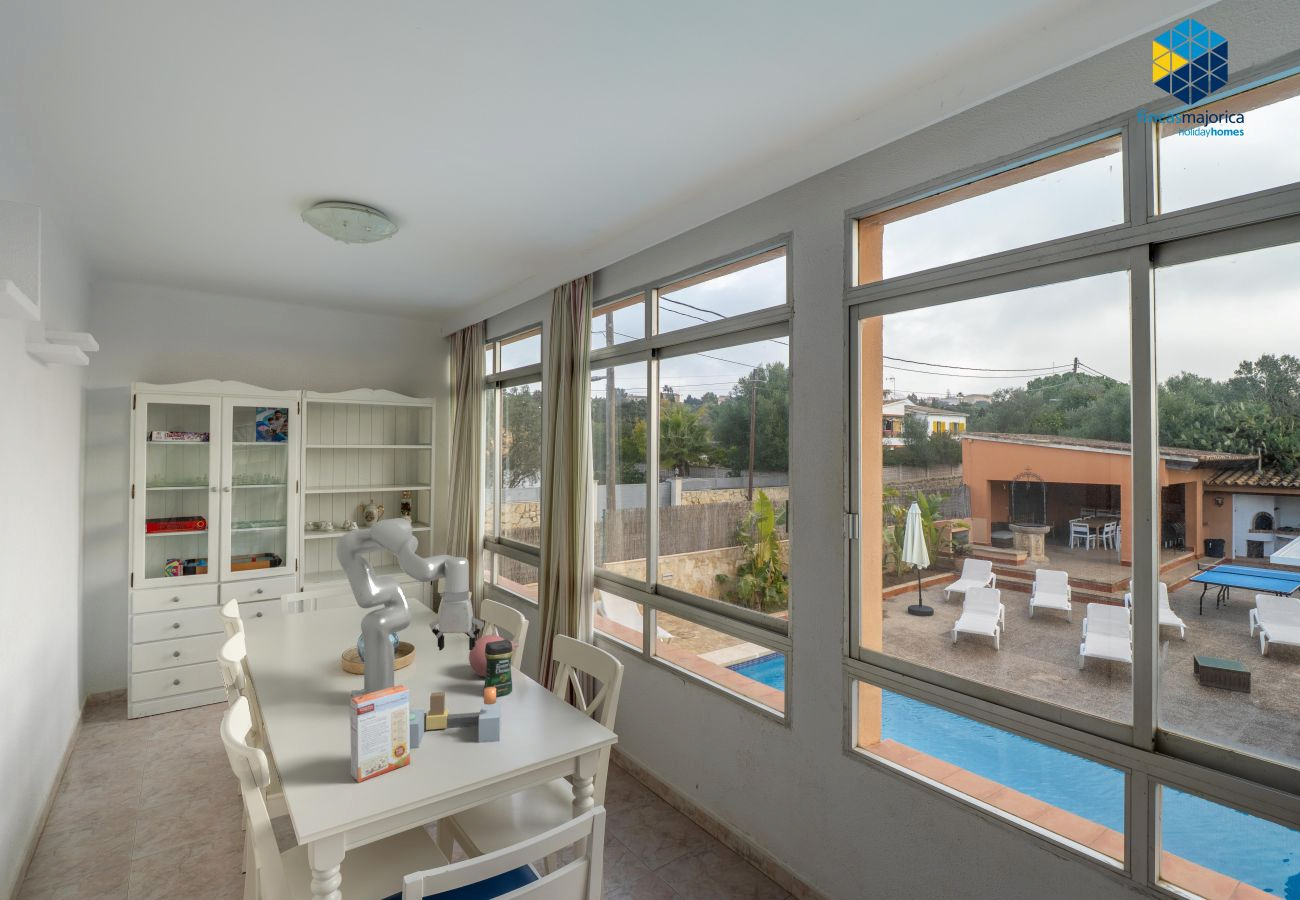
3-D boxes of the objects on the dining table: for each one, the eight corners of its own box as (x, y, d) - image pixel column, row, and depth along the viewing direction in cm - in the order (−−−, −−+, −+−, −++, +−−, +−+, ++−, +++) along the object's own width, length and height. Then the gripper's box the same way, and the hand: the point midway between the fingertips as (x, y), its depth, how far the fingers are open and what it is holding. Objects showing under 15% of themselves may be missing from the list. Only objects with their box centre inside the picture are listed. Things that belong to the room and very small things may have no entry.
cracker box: (401, 756, 176) (401, 683, 175) (410, 764, 171) (410, 689, 171) (349, 774, 166) (349, 696, 166) (357, 783, 161) (357, 703, 161)
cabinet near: (393, 749, 179) (393, 722, 179) (400, 734, 189) (400, 707, 189) (418, 747, 181) (418, 720, 181) (424, 732, 191) (424, 706, 191)
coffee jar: (488, 699, 215) (489, 646, 215) (481, 692, 222) (481, 640, 222) (515, 693, 220) (515, 641, 220) (507, 686, 227) (507, 636, 227)
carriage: (426, 729, 191) (426, 698, 191) (428, 722, 196) (428, 691, 196) (446, 728, 192) (446, 696, 192) (448, 720, 197) (448, 690, 197)
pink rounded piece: (528, 674, 239) (528, 635, 239) (477, 686, 227) (477, 644, 227) (511, 663, 252) (511, 625, 251) (463, 673, 240) (463, 634, 240)
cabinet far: (478, 742, 184) (478, 719, 184) (481, 727, 194) (481, 705, 194) (499, 740, 185) (499, 717, 185) (500, 726, 195) (500, 703, 195)
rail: (420, 730, 192) (420, 717, 192) (422, 726, 195) (422, 713, 195) (488, 724, 196) (488, 712, 196) (489, 720, 199) (489, 708, 199)
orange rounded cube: (483, 705, 186) (483, 691, 186) (484, 700, 190) (484, 687, 190) (495, 704, 187) (495, 690, 187) (496, 699, 191) (496, 686, 191)
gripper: (425, 599, 196) (425, 653, 196) (480, 598, 197) (480, 652, 197) (433, 593, 204) (433, 645, 204) (486, 593, 204) (486, 645, 204)
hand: (456, 649), depth 200 cm, fingers open, 9 cm apart
